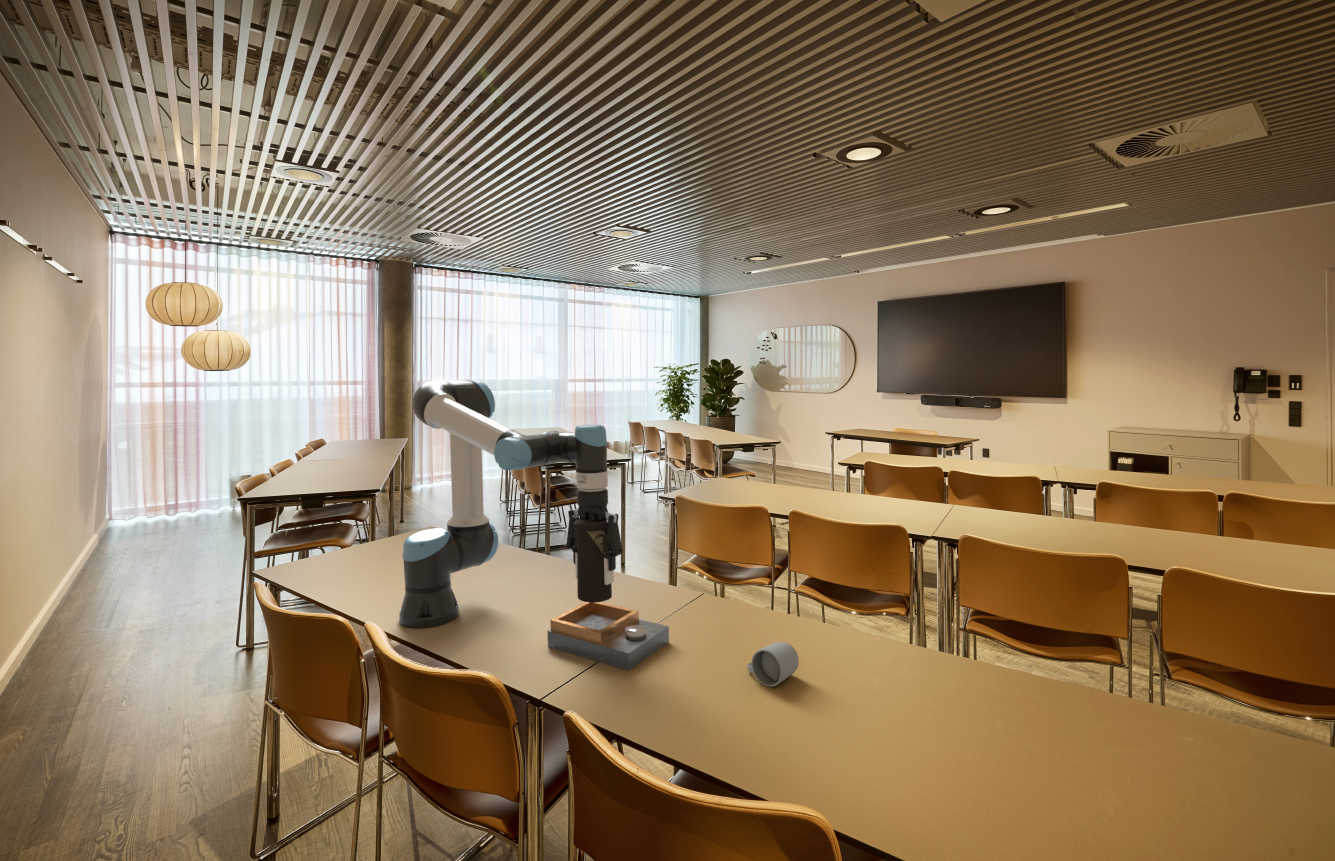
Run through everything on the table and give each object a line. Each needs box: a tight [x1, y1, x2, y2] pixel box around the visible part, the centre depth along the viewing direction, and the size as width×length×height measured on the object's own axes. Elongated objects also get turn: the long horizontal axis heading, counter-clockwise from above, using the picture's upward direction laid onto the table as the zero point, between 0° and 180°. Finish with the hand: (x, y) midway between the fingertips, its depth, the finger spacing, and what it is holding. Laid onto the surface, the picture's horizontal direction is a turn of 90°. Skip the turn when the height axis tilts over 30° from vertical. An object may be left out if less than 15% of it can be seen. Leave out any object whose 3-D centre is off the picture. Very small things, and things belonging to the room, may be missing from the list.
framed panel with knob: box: [546, 602, 670, 672], centre depth 148 cm, size 24×17×6 cm
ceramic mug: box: [746, 641, 800, 688], centre depth 131 cm, size 11×8×8 cm
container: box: [574, 517, 613, 603], centre depth 148 cm, size 9×9×20 cm
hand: (594, 579), depth 149 cm, fingers closed on container, 8 cm apart
